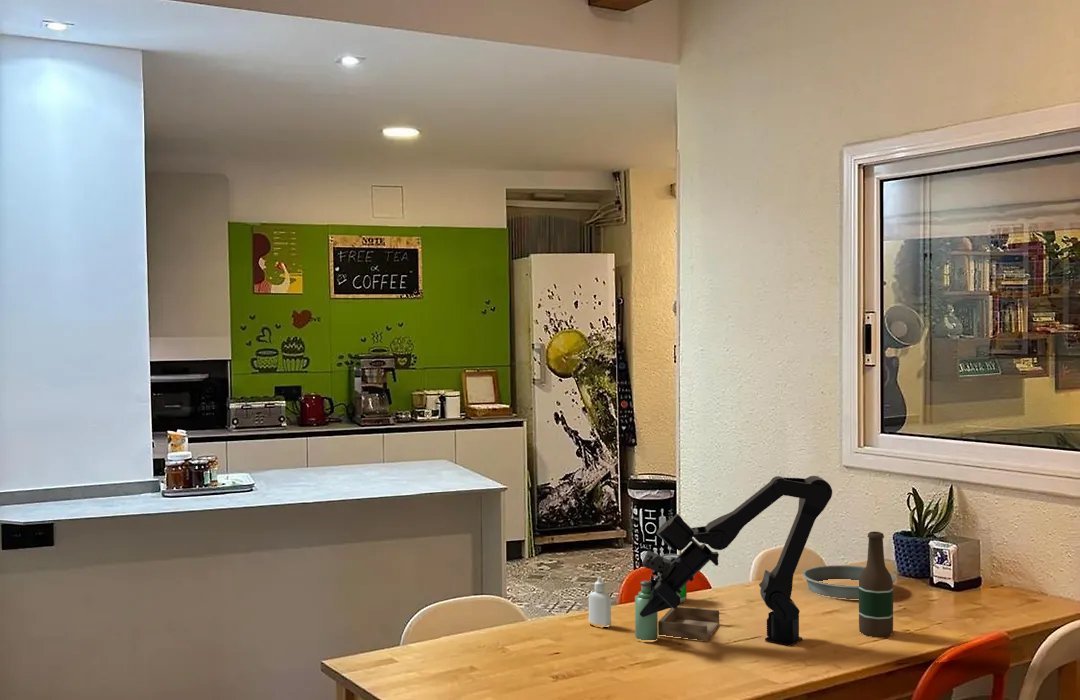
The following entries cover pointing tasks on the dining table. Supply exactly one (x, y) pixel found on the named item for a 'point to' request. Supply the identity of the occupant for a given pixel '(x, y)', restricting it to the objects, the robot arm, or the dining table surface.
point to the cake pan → (834, 573)
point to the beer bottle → (876, 592)
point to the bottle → (649, 624)
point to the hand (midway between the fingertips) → (640, 611)
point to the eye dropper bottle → (600, 605)
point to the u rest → (689, 623)
